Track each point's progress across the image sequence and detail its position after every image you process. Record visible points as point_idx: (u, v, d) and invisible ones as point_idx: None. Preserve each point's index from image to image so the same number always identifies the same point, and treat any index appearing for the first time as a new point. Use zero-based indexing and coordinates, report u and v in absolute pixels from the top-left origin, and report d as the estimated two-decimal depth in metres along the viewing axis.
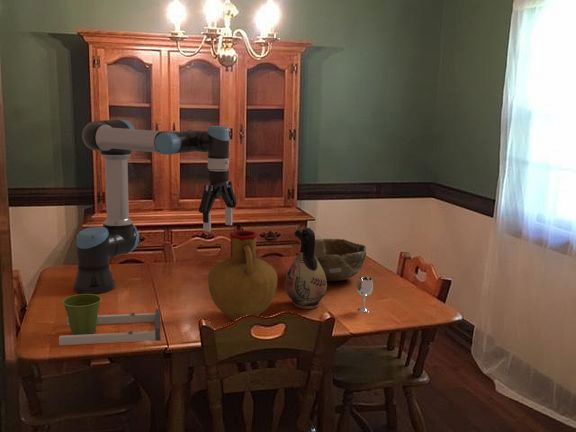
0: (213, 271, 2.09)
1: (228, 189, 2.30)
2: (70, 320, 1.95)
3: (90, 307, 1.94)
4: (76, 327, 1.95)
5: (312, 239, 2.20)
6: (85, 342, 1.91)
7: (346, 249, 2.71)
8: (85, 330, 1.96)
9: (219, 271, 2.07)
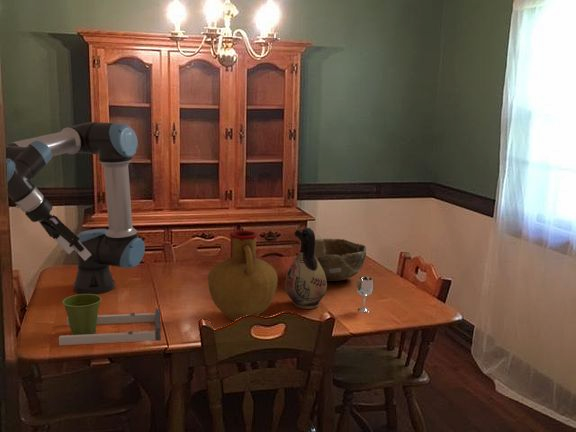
0: (213, 271, 2.09)
1: None
2: (70, 320, 1.95)
3: (90, 307, 1.94)
4: (76, 327, 1.95)
5: (312, 239, 2.20)
6: (85, 342, 1.91)
7: (346, 249, 2.71)
8: (85, 330, 1.96)
9: (219, 271, 2.07)
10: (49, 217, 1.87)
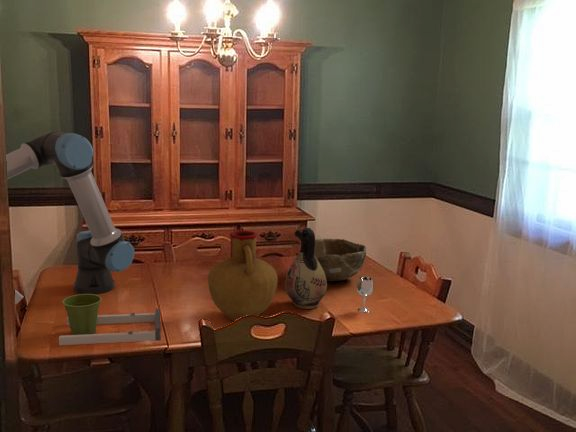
0: (213, 271, 2.09)
1: None
2: (70, 320, 1.95)
3: (90, 307, 1.94)
4: (76, 327, 1.95)
5: (312, 239, 2.20)
6: (85, 342, 1.91)
7: (346, 249, 2.71)
8: (85, 330, 1.96)
9: (219, 271, 2.07)
10: None
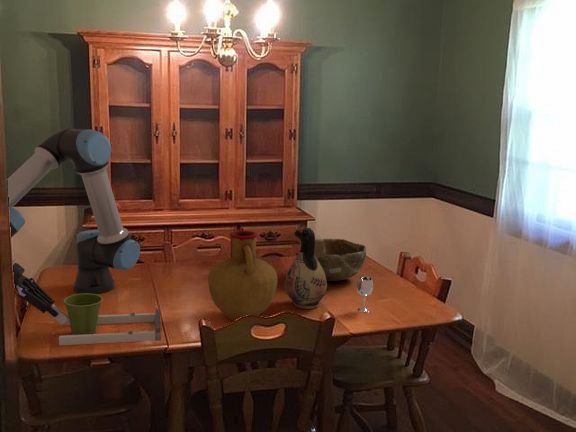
0: (213, 271, 2.09)
1: None
2: (71, 319, 1.95)
3: (91, 307, 1.94)
4: (77, 327, 1.95)
5: (312, 239, 2.20)
6: (85, 342, 1.91)
7: (346, 249, 2.71)
8: (85, 330, 1.96)
9: (219, 271, 2.07)
10: (16, 284, 1.88)
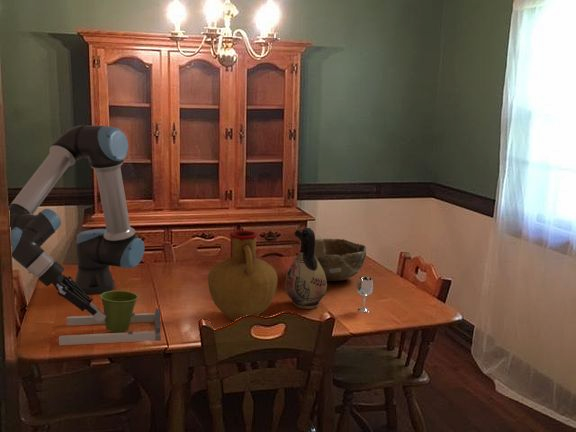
0: (213, 271, 2.09)
1: None
2: (111, 316, 1.97)
3: (133, 302, 2.00)
4: (117, 323, 1.98)
5: (312, 239, 2.20)
6: (85, 342, 1.91)
7: (346, 249, 2.71)
8: (125, 325, 2.00)
9: (219, 271, 2.07)
10: (56, 282, 1.90)
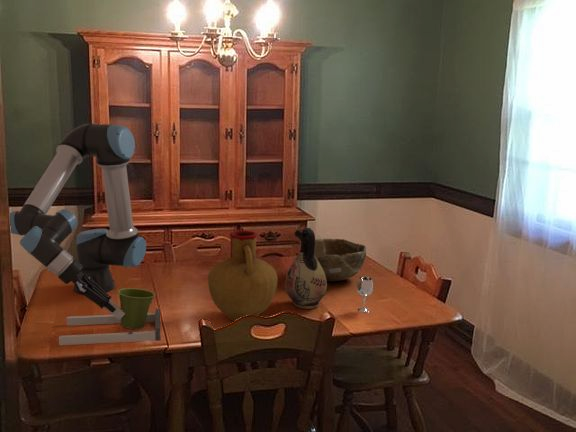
0: (213, 271, 2.09)
1: None
2: (132, 313, 2.00)
3: (152, 298, 2.04)
4: (137, 319, 2.01)
5: (312, 239, 2.20)
6: (85, 342, 1.91)
7: (346, 249, 2.71)
8: (143, 321, 2.03)
9: (219, 271, 2.07)
10: (76, 280, 1.92)
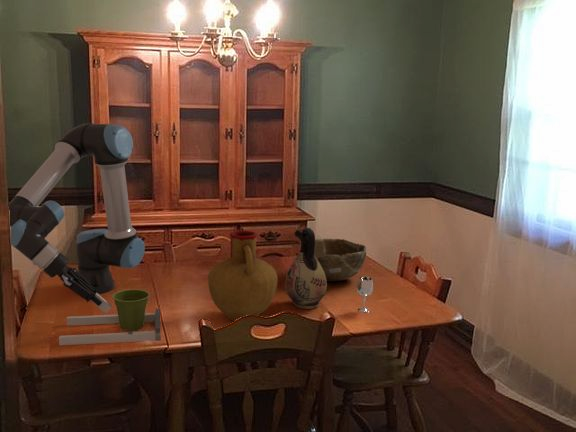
0: (213, 271, 2.09)
1: None
2: (127, 316, 2.00)
3: (147, 299, 2.03)
4: (134, 321, 2.01)
5: (312, 239, 2.20)
6: (85, 342, 1.91)
7: (346, 249, 2.71)
8: (141, 322, 2.03)
9: (219, 271, 2.07)
10: (61, 274, 1.91)
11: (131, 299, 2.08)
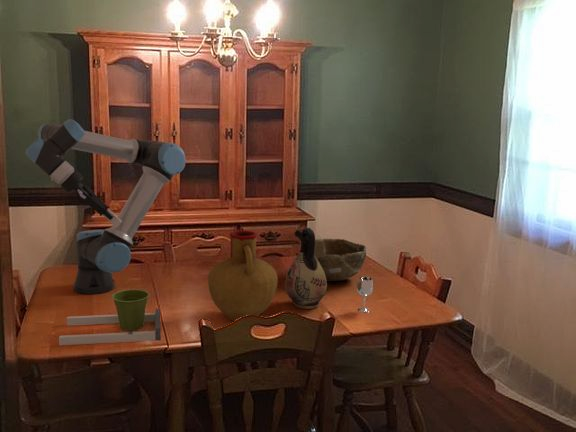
0: (213, 271, 2.09)
1: None
2: (127, 316, 2.00)
3: (146, 299, 2.03)
4: (134, 321, 2.01)
5: (312, 239, 2.20)
6: (85, 342, 1.91)
7: (346, 249, 2.71)
8: (141, 322, 2.03)
9: (219, 271, 2.07)
10: (77, 188, 2.11)
11: (131, 299, 2.08)
